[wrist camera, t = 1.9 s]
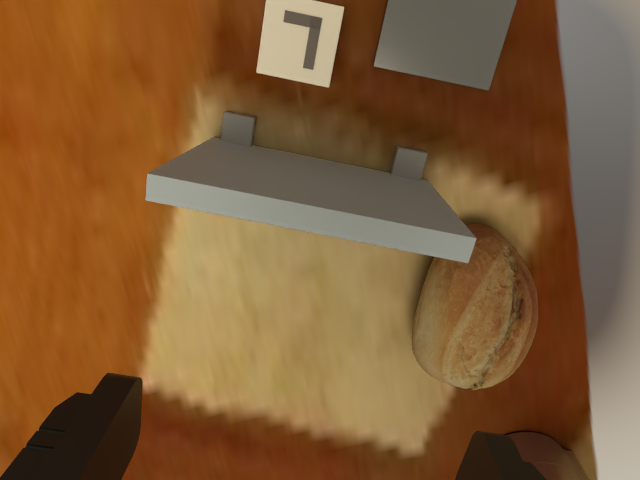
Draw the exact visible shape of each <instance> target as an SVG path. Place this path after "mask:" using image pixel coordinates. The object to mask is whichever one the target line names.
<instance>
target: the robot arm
mask: <svg viewBox="0 0 640 480" xmlns="http://www.w3.org/2000/svg"><path fill="white" fill-rule="evenodd" d="M141 407H142V379H141V378H139V377H133V376H126V375H120V374H113V373H107V374H106V375H105V376H104V377H103V379H102V380H101V381H100V383H99V384H98V386H97V387H96V389H95V390H94V391H93V393H92V394H85V393H78V392H77V393H76V394H74V395H73V396H71V397H70V398H68V399H67V400H65V401H64V402H62V403H61V404H59V405H58V406H56V407H55V408H54V409H53V411H52V412H51V413H50V414H49V416H48V417H47V418H46V420H45V421H44V422H43V423H42V425H41V426H40V428H39V431H36V432H35V434H34V435H33V436H32V438H31V439H30V440H29V441H28V443H27V445H26V447H25V448H23V449H22V450H21V452H20V453H19V454H18V455H17V457H16V458H15V459H14V461H13V462H12V463H11V464H10V466H9V467H8V468H7V470H6V471H5V472H4V473H3V475H2V476H1V477H0V480H121V479H122V477H123V475H124V473H125V471H126V469H127V467H128V465H129V463H130V460H131V458H132V456H133V454H134V451H135V449H136V446H137V442H138V439H139V434H140V427H141ZM455 480H590V479H589V478H588V476H587V474H586V473H585V471H584V470H583V468H582V466H581V465H580V463H579V462H578V460H577V458H576V457H575V455H574V454H573V452H572V451H569V450H565V449H563V448H562V447H561V446H560V445H559V444H558V443H557V442H556V441H555V440H553V439H552V438H550V437H548V436H546V435H543V434H540V433H534V432H518V433H512V434H509V435H501V434H494V433H488V432H481V431H476V432H475V433H474V434H473V436H472V438H471V441H470V443H469V446H468V448H467V451H466V453H465V455H464V458H463V460H462V463H461V465H460V468H459V470H458V473H457V476H456V479H455Z"/></svg>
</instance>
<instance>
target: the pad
mask: <svg viewBox="0 0 640 480" xmlns="http://www.w3.org/2000/svg"><path fill="white" fill-rule="evenodd" d="M516 2H517V0H388V1H387V6H386V10H385V15H384V19H383V24H382V28H381V33H380V37H379V42H378V46H377V51H376V55H375V60H374V64H373V66H374V67H378V68H383V69H388V70H393V71H397V72H402V73H407V74H412V75H416V76H421V77H426V78H431V79H435V80H440V81H445V82H450V83H454V84H459V85H464V86H469V87H473V88H478V89H483V90H489V88H490V85H491V82H492V78H493V75H494V72H495V69H496V66H497V62H498V59H499V56H500V53H501V50H502V46H503V43H504V40H505V37H506V34H507V30H508V27H509V24H510V21H511V18H512V14H513V11H514V8H515V5H516Z"/></svg>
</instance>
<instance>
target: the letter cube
mask: <svg viewBox="0 0 640 480" xmlns="http://www.w3.org/2000/svg"><path fill="white" fill-rule="evenodd" d="M343 12H344V7H342V6H337V5H333V4H328V3H323V2H319V1H314V0H266V5H265V13H264V20H263V27H262V35H261V42H260V49H259V57H258V64H257V71H256V73H261V74H266V75H270V76H275V77H280V78H285V79H290V80H294V81H299V82H304V83H309V84H314V85H318V86H323V87H328V88H329V86H330V81H331V75H332V70H333V65H334V60H335V55H336V49H337V44H338V39H339V34H340V29H341V23H342V18H343Z"/></svg>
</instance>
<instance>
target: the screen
mask: <svg viewBox="0 0 640 480" xmlns="http://www.w3.org/2000/svg"><path fill="white" fill-rule="evenodd" d="M255 122H256V117H254V116H249V115H244V114H239V113H234V112H229V111H225V112H224V115H223V124H222V132H221V138H216V137H213V138H211V139H209V140H207V141H206V142H204V143H202V144H200V145H198V146H196V147H195V148H193V149H191V150H189V151H187V152H186V153H184V154H182V155H180V156H178V157H176V158H175V159H173V160H171V161H169V162H167V163H165V164H164V165H162V166H160V167H158V168H156V169H155V170H153V171H151V172H149V173H147V187H146V201H152V202H157V203H162V204H167V205H172V206H177V207H182V208H187V209H193V210H198V211H203V212H208V213H213V214H218V215H223V216H228V217H234V218H239V219H244V220H249V221H254V222H259V223H264V224H270V225H275V226H280V227H285V228H290V229H295V230H300V231H305V232H311V233H316V234H321V235H326V236H331V237H336V238H341V239H346V240H352V241H357V242H362V243H367V244H372V245H377V246H382V247H388V248H393V249H398V250H403V251H408V252H413V253H418V254H423V255H429V256H434V257H439V258H444V259H449V260H454V261H459V262H464V263H468V262H469V260H470V257H471V254H472V251H473V248H474V245H475V242H476V239H477V238H476V237H475V236H474V235H473V233H472V232H471V231H470V230H469V229H468V228H467V226H466V225H465V224H464V223H463V222H462V220H461V219H460V218H459V217H458V216H457V215H456V213H455V212H454V211H453V210H452V209H451V207H450V206H449V205H448V204H447V203H446V201H445V200H444V199H443V198H442V197H441V196H440V194H439V193H438V192H437V191H436V190H435V188H434V187H433V186H432V185H431V184H430V182H429V181H428V180H425V179H421V177H422V173H423V169H424V166H425V162H426V159H427V155H428V153H427V152H425V151H420V150H415V149H410V148H405V147H401V146H397V147H396V151H395V155H394V159H393V163H392V167H391V171H390V172H385V171H380V170H375V169H370V168H365V167H360V166H355V165H350V164H345V163H340V162H335V161H330V160H325V159H320V158H315V157H310V156H305V155H301V154H296V153H291V152H286V151H281V150H276V149H271V148H266V147H261V146H256V145H252V144H253V136H254V129H255Z"/></svg>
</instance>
